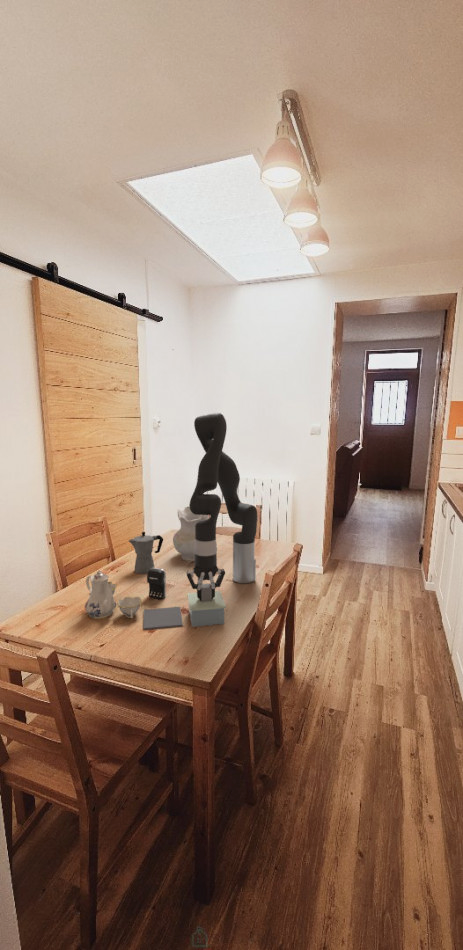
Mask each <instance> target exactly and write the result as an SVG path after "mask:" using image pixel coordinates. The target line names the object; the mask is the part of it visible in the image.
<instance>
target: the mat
mask: <svg viewBox="0 0 463 950" xmlns="http://www.w3.org/2000/svg"><path fill="white" fill-rule="evenodd" d="M178 627H184V625H183V617H182V610H181V606H174V607H173V606H170V607H160V608H159V607H158V608H147V609H143V626H142V629H143V630H145V631H146V630H156V629H164V628H165V629H167V628H178Z"/></svg>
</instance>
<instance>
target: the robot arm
mask: <svg viewBox="0 0 463 950" xmlns="http://www.w3.org/2000/svg"><path fill="white" fill-rule="evenodd" d="M227 425H228V424H227V420H226V418H225V416H224V415H223V414H222V413H220V412H214V413H209V414H206V415H204V414H203V415H200V416H197V417H195V419H194V430H195V433H196V436H197V438H198V441H199V442H200V444H201V446H202V448H203V450H204V453H205V454H204V455H203V457H202V458H201V460H200V462H199V464H198V470H197V479H196V480H197V481H196V484H195V487H194V490H193V493H192V495H191V497H190V500H189V504H188V505H189V506H188V507H190V510H191V512H192V513H193V514H195V515H208V516H209V519H207V520H203V521H199V522H197V523H196V525H195V561H194V567H193V569H192V570H187V571H186V577H187V579H188V581H189V584H190V586H191V589H193V590H196V593H197V597H198V598H199V600H201V586H202V584H204V583H203V582H204V581H209V583H210V584H211V587H212V599H213V597H215V591H216V588H220V587H221V585H222V583H223V580H224V577H225V576H226V575H225V574H226V571H225V569H224V568H218V565H217V564H218V561H217V560H218V559H217V557H218V556H217V554H218V553H217V551H218V547H217V522H218V517H219V514H220V511H221V507H222V500H221V497H220V495H218V494H213V493H212V494H210V493H208V492H211V491H214V490H216V488H217V487H218V486H219V489H220V492H221V494H222V497H223V499H224V503H225V507H226V510H227V514H228V518H229V519H230V521H231V522H232V523H233V524H235V525H239V526H241V531H237V532H235V533H233V536H232V580H233V581H234V582H236V583H239V584H249V583H253V582H256V574H257V573H256V570H257V569H256V568H257V567H256V566H257V565H256V563H257V562H256V558H255V554H256V553H255V544H256V543H255V541H256V535H257V528H258V510H257V508H256V506H255V505H252V504H248V503H245V502H244V503H243V502H241V500H240V498H239V495H238V488H239V485H240V482H241V481H240V480H241V478H240V477H241V476H240V472H239V469H238V468H237V465H236V463H235V460H233V459H232V458H231V457H230V456H229V455H228V454H227V453H226V452H224V451H223V448H224V445H225V440H226V435H227V431H228V430H227V428H228V427H227ZM217 574H218V576H217V578H216V581H214V577H215V576H216V575H217ZM194 575H195V576H196V577H197V582H196V583H195V581H194V579H193V578H194Z"/></svg>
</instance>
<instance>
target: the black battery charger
mask: <svg viewBox="0 0 463 950" xmlns="http://www.w3.org/2000/svg"><path fill="white" fill-rule="evenodd" d="M166 576H167V574H166V570H165V569H164V568H160V567H155V568H151V569H150V570H149V571H148V572H147V574H146V583H147V584H148V587H149V588H148V597H149V598H152V599H158V600H162V599H165V598H166V597H167V588H166V587H167V577H166Z"/></svg>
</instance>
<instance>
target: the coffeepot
mask: <svg viewBox="0 0 463 950" xmlns="http://www.w3.org/2000/svg"><path fill="white" fill-rule="evenodd" d="M157 540H158V545H157V549H156V550H154V553H155V554H158V553H160V552H161V548H162V545H163V541H164V538H163V537H162V536H161V535H159V534H158V535H150V534H149V535H147V534H146V531H142V532H141V535H138V536H135V537H134V538H131V539H129V540H128V542H129V543H130V544H131V546H132V547H133V548H134V552H135V554H136V558H135V565H134V571H133V572H135V573H136V574H139V575H145V574H146V575H147V572H148V571H149V570H150V569H151V568H156V567H155V563H154V557H153V555H152V553H153V548H154V541H157Z"/></svg>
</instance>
